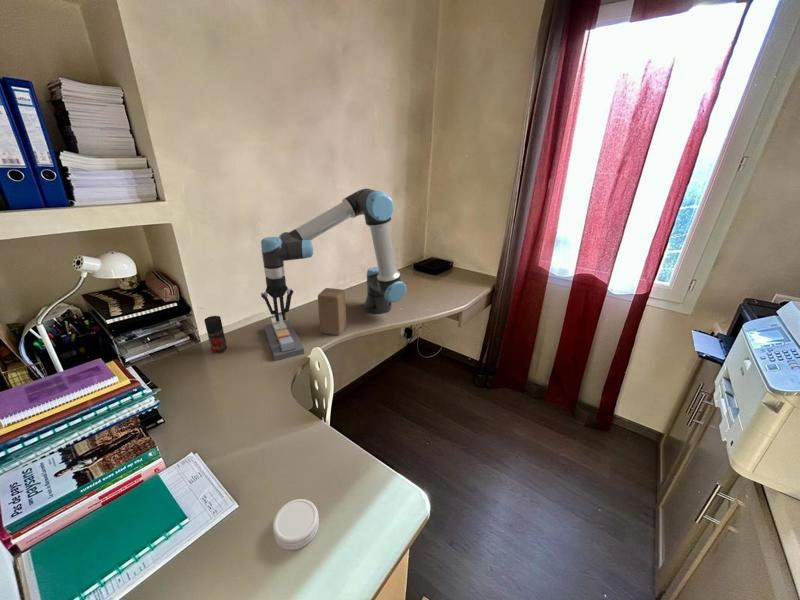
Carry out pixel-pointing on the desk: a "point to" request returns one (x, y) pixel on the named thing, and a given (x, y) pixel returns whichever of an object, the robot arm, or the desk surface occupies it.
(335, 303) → the wooden block
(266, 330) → the keypad base
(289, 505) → the white round container
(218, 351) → the deodorant
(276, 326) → the key sage
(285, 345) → the key slate
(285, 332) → the key terracotta
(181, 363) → the desk surface
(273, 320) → the key grey
